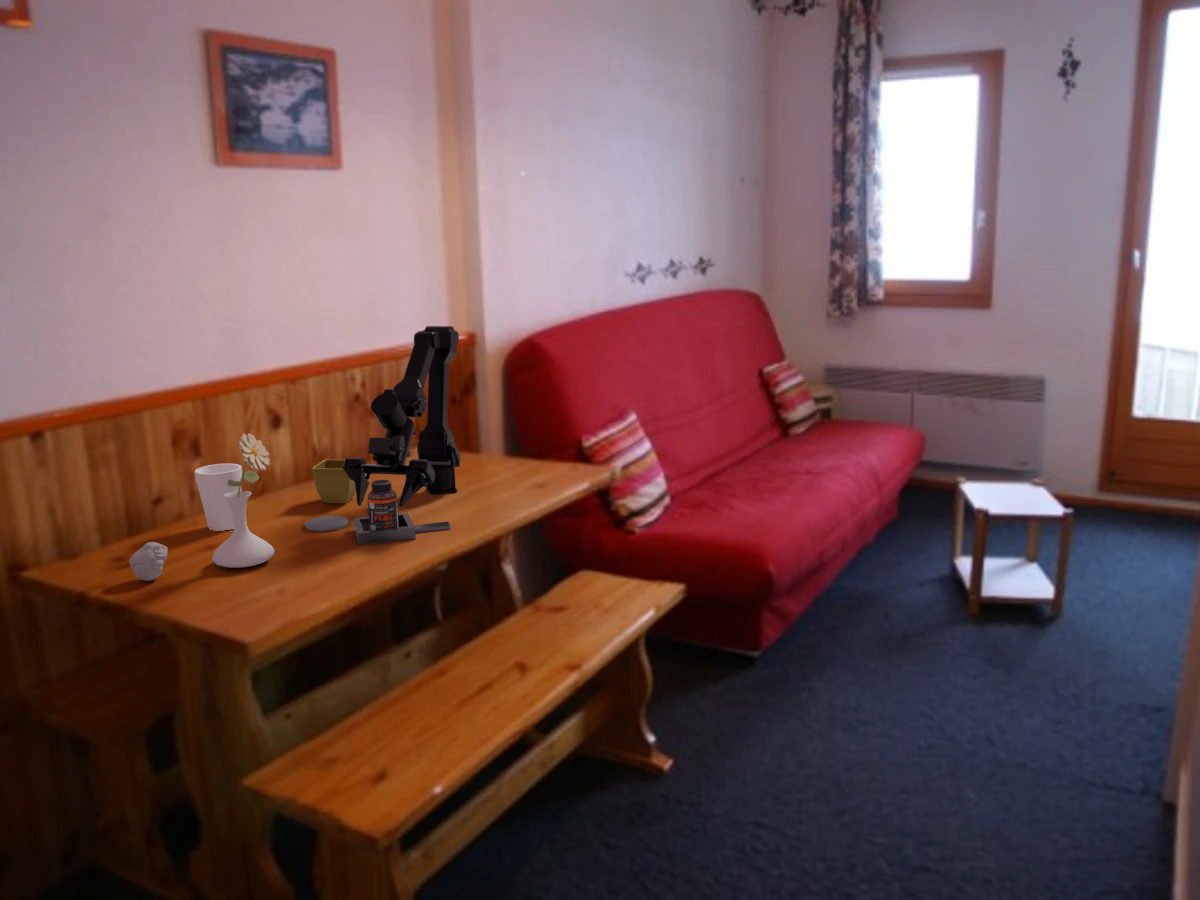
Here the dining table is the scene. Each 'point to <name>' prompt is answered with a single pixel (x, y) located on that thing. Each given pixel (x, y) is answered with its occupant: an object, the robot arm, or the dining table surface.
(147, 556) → the lumpy white ball
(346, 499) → the flower pot
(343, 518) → the coaster
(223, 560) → the flower in vase
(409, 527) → the square pan with handle
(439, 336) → the robot arm
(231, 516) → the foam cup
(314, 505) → the dining table surface
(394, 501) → the supplement bottle
